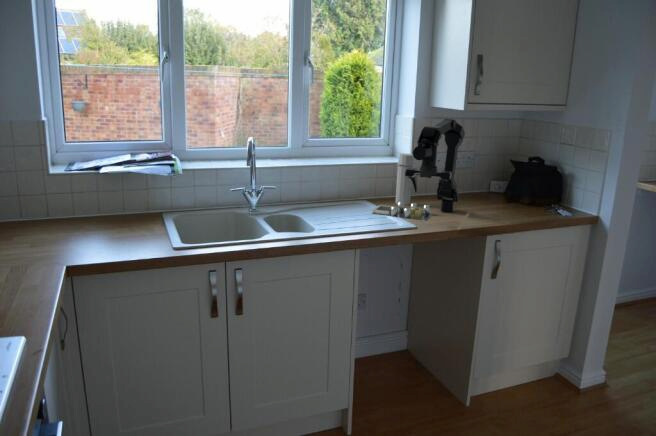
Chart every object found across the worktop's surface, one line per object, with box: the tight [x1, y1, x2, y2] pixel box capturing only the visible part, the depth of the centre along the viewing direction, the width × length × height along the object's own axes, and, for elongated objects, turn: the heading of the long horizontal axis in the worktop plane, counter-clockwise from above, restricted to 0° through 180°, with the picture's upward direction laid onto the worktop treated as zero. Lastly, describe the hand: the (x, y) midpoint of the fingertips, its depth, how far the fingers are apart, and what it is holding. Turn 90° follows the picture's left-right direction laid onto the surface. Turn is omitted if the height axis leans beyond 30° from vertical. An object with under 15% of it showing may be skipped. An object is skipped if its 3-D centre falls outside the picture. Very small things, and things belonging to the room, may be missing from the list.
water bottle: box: [395, 153, 414, 206], centre depth 256 cm, size 9×8×25 cm
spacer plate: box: [371, 202, 433, 222], centre depth 237 cm, size 13×25×5 cm, turn 68°
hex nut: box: [410, 207, 424, 217], centre depth 235 cm, size 5×6×3 cm
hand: (426, 193), depth 223 cm, fingers open, 9 cm apart
